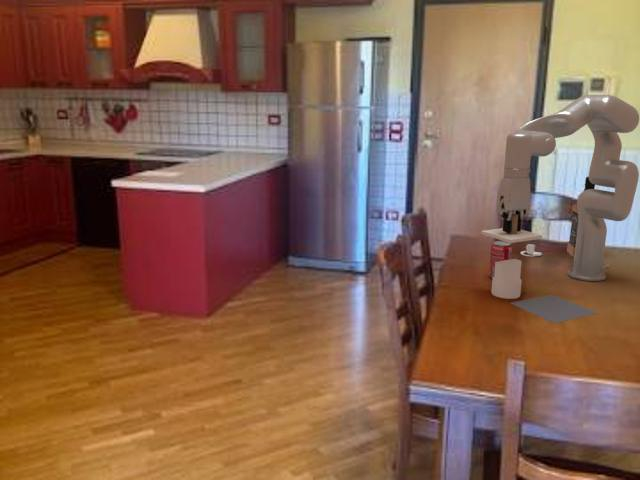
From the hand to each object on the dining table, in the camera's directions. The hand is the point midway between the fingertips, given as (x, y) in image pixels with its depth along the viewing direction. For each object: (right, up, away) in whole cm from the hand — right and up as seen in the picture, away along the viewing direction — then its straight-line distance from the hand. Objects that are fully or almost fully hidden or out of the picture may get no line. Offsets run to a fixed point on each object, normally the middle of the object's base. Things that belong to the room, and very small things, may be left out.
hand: (511, 230), depth 188 cm
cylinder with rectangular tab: (0, -22, +6) cm, 22 cm away
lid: (0, -2, 0) cm, 2 cm away
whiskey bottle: (+46, -9, +55) cm, 72 cm away
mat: (+10, -25, -7) cm, 28 cm away
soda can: (+4, -17, +25) cm, 30 cm away
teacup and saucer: (+24, -10, +54) cm, 60 cm away
